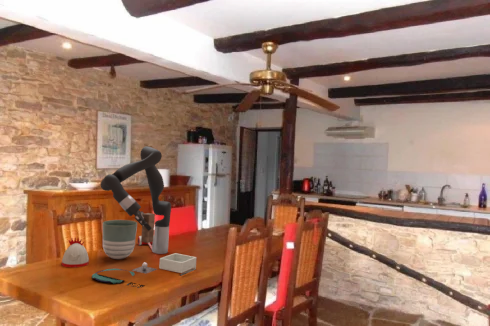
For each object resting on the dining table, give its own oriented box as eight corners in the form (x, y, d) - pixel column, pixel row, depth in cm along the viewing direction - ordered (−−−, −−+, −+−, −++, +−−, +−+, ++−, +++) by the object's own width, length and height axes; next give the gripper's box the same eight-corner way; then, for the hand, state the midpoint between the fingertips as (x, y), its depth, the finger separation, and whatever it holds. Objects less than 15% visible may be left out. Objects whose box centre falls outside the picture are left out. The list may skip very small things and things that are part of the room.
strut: (141, 241, 217) (142, 213, 217) (146, 240, 221) (148, 213, 221) (147, 243, 215) (149, 215, 215) (153, 241, 219) (154, 214, 219)
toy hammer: (162, 251, 266) (162, 241, 266) (144, 252, 261) (145, 242, 261) (153, 243, 287) (154, 234, 287) (137, 244, 282) (137, 235, 281)
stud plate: (130, 272, 216) (131, 262, 215) (142, 268, 225) (143, 258, 224) (145, 276, 211) (146, 266, 211) (157, 271, 220) (158, 262, 220)
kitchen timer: (64, 260, 231) (65, 234, 230) (89, 260, 234) (91, 234, 234) (59, 267, 217) (61, 240, 217) (86, 267, 221) (88, 240, 220)
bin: (159, 271, 222) (159, 258, 222) (174, 265, 235) (175, 253, 235) (181, 275, 216) (182, 262, 216) (195, 269, 229) (196, 257, 229)
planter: (125, 252, 256) (127, 218, 256) (141, 259, 242) (143, 224, 242) (94, 256, 242) (96, 221, 242) (110, 264, 228) (112, 226, 228)
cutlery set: (110, 270, 219) (110, 266, 218) (158, 280, 208) (158, 276, 208) (84, 280, 200) (84, 276, 200) (135, 292, 190) (135, 287, 190)
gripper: (133, 202, 210) (154, 226, 211) (137, 199, 224) (158, 221, 225) (122, 212, 209) (144, 235, 211) (127, 208, 223) (147, 230, 225)
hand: (151, 228), depth 218 cm, fingers closed on strut, 6 cm apart
